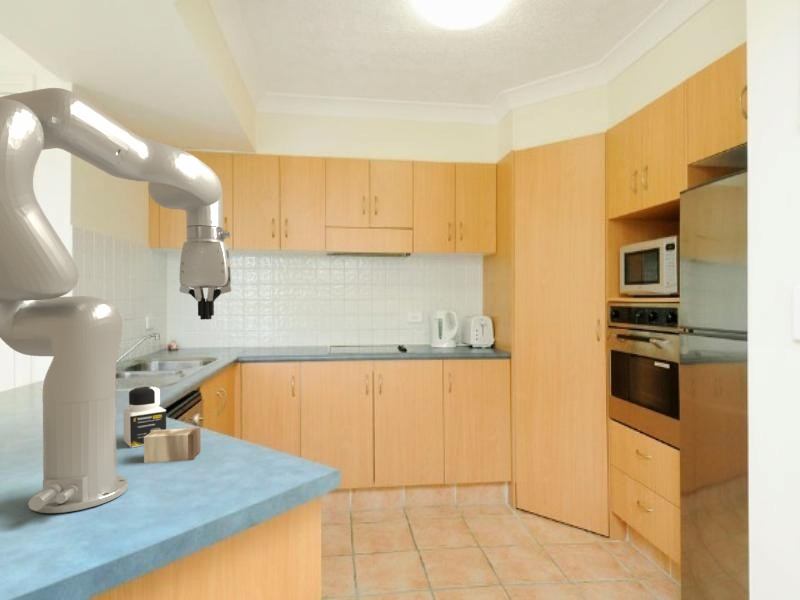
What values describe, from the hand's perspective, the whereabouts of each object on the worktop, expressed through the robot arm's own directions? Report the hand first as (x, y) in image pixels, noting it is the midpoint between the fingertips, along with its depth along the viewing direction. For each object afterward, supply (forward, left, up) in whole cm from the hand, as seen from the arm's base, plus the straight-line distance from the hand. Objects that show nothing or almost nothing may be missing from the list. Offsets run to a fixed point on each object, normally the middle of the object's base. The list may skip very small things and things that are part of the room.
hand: (206, 319), depth 103 cm
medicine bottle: (+3, +14, -27) cm, 31 cm away
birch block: (-10, 0, -25) cm, 27 cm away
